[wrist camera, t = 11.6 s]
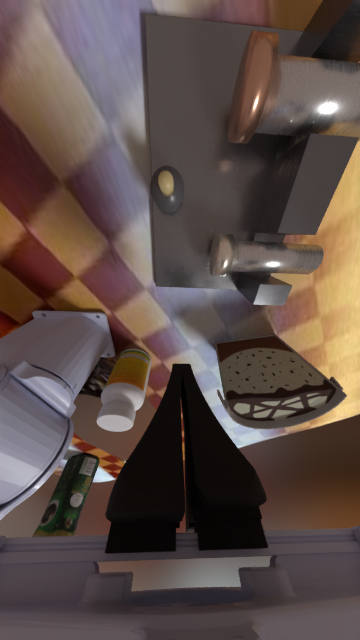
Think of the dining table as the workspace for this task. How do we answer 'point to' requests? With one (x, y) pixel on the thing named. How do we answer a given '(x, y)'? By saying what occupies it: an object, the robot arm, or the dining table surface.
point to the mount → (236, 147)
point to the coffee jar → (68, 497)
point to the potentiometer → (167, 189)
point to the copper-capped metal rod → (292, 94)
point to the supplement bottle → (124, 390)
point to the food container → (272, 384)
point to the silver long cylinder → (262, 256)
